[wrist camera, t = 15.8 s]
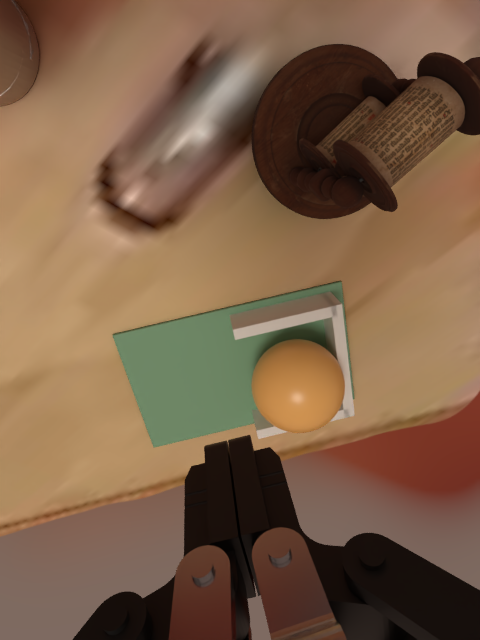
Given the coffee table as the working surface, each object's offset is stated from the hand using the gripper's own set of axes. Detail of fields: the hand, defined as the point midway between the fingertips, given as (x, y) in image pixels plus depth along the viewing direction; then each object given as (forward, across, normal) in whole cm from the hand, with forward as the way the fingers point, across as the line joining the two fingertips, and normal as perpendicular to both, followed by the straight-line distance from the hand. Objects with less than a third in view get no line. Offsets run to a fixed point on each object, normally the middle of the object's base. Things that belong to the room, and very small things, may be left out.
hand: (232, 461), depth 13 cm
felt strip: (+33, -1, +16) cm, 37 cm away
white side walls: (+33, -7, +16) cm, 37 cm away
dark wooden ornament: (+33, -14, -7) cm, 37 cm away
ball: (+28, -6, +17) cm, 33 cm away
